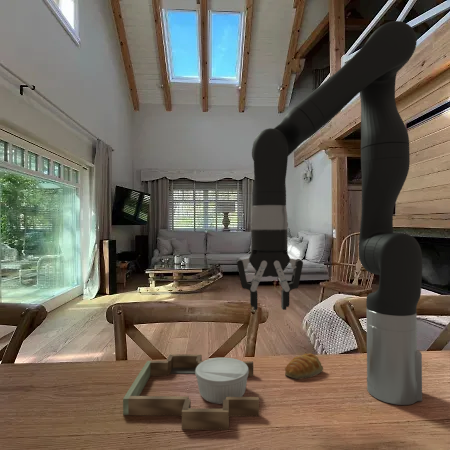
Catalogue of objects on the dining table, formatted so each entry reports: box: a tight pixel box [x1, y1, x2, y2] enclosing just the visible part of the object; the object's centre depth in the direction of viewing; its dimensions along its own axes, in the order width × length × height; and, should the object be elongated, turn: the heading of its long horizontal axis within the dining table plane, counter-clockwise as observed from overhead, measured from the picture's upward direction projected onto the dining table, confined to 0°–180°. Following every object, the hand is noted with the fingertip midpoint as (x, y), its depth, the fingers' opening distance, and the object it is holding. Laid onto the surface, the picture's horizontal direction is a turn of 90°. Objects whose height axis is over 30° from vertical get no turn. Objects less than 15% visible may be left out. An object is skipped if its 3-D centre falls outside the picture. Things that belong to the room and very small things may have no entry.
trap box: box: [122, 353, 260, 431], centre depth 68 cm, size 25×25×3 cm
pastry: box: [284, 353, 324, 380], centre depth 77 cm, size 9×7×4 cm
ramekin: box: [194, 357, 249, 405], centre depth 68 cm, size 11×11×5 cm
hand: (269, 308), depth 67 cm, fingers open, 5 cm apart
